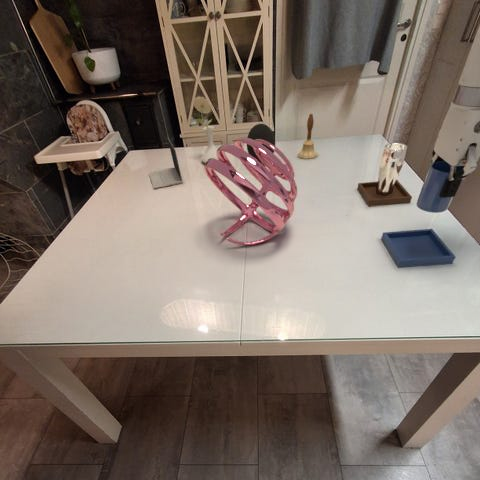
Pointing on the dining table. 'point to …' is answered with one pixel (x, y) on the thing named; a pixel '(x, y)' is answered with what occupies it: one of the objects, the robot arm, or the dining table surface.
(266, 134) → the decorative egg
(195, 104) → the flower in vase
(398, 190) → the walnut tray
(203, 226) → the dining table surface
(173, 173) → the laptop
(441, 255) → the blue tray
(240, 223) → the spiral basket
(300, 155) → the hand bell
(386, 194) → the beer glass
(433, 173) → the blue cup
